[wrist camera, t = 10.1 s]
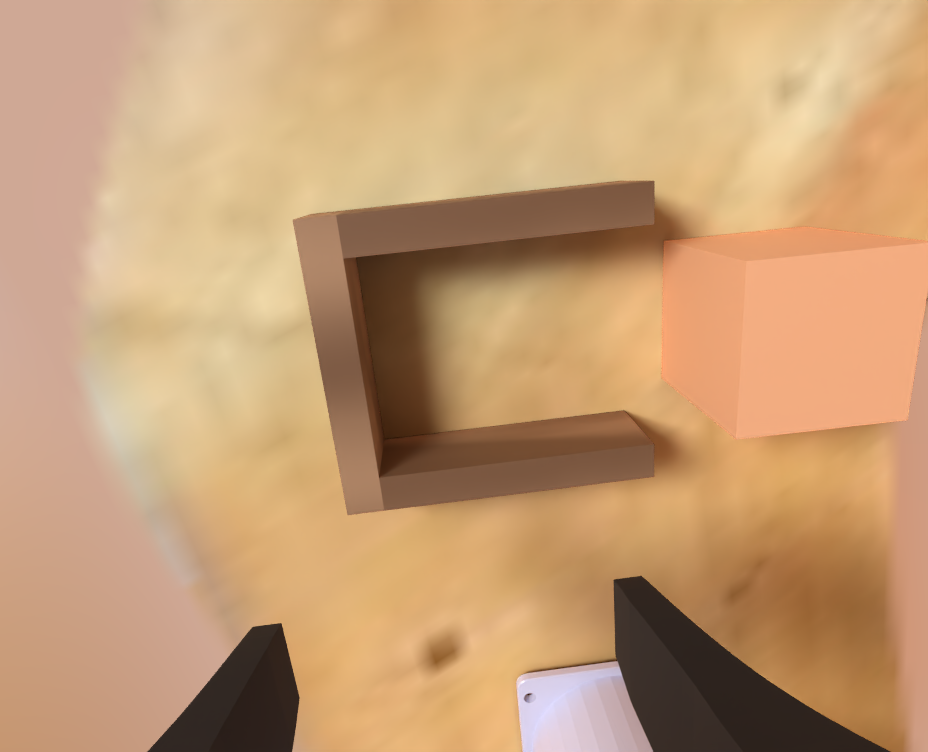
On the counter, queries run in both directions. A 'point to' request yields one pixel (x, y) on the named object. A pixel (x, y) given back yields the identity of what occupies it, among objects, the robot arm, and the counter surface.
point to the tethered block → (794, 327)
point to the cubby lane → (473, 450)
